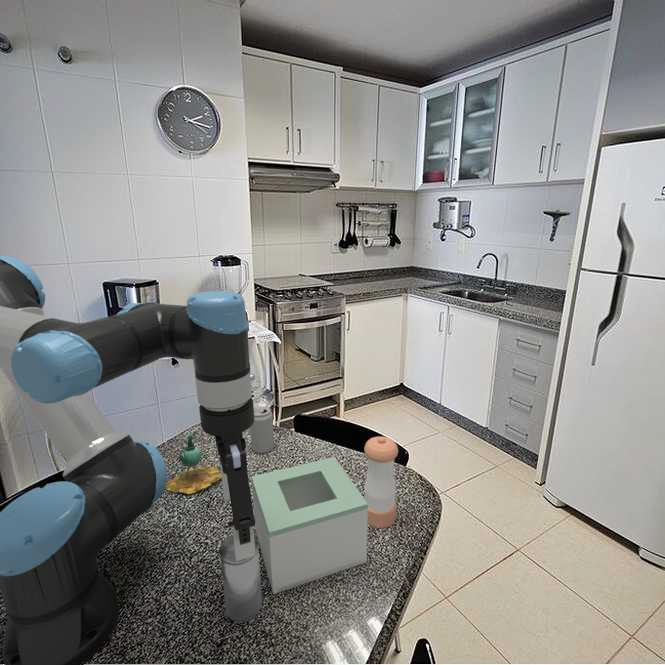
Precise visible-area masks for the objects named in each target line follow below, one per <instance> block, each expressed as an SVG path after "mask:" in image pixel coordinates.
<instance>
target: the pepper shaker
mask: <svg viewBox="0 0 665 665" xmlns="http://www.w3.org/2000/svg"><path fill="white" fill-rule="evenodd" d="M363 449H364V450H363V451H364V454H365V455H366V457H367V473H366V477H365V478H366V479H365V483H364V497H363V498H364V499H365V501H366V502H367V504H368V520H367V525H369V526H371V527H374V528H377V529H384V528H385V529H386V528H388V527H391V526H393V524H394V523H395V522H396V520H397V508H398V503H397V500H396V494H397V493H396V491H397V489H396V488H397V486H396V481H395V475H394V474H395V473H394V472H395V459H396V458H397V457H398V454H399V448H398V444H397V443H396V442H395V441H394V440H393V439H391V438H390V437H386V436H374V437H371V438H369V439H368V440H367V441H366V443H365V444H364V448H363Z"/></svg>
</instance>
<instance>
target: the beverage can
mask: <svg viewBox="0 0 665 665" xmlns="http://www.w3.org/2000/svg"><path fill="white" fill-rule="evenodd" d="M254 418H255V419H254V423H253V425H252V426H251V427H250V428H249V431H250V432H249V433H250V443H251V444H250V445H251V450H252V451H253V452H255V453H257V454H267V453H269V452H271V451H272V450H273V449H274V448H275V434H274V431H275V430H274V418H273V412H272V409H271V408H270V407H268V406H264V405H260V406H256V407H254Z"/></svg>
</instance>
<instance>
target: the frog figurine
mask: <svg viewBox="0 0 665 665" xmlns="http://www.w3.org/2000/svg"><path fill="white" fill-rule="evenodd" d="M183 442H184V445H183V448H182V451H181V452H180V454H179V456H178V463H181V464H182V465H183V468H181V467H179V466H176V464H175V463H173V464H172V465H171V467H172V468H178V469H179V470H182V471H181V472H178V471H177V472H176V476H175V477H174V478H173V479H172V478H171V479H170V480H169V481H167V486H166V489H165V490H167V491H168V492H171V493H172V494H176V493H180V494H181V493H182V494H186V495H191V494H195V493H197V492H198V491H202V490H204V489H206V488H209V487H210V486H211V484H212V483H217V482H218V481H219V480H222V476H221V467H220V465H222V464H221V462H219V465H215V466H213V465H209V466H200V467H196V466H197V465H199V463H200V462H201V460H202V452H203V453H204V457H203V459H204V460H207V459H208V457H207V455H206V451H205V450H204V449H200V448H199V447H198V446H196V445H195V444H194V442H193V434H192V433H189V434H188V436H187V441H186V440H183ZM186 467H188V468H187V469H185V468H186ZM191 467H192V468H191Z"/></svg>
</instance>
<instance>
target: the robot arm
mask: <svg viewBox="0 0 665 665" xmlns="http://www.w3.org/2000/svg"><path fill="white" fill-rule="evenodd" d="M43 289H44V287H43V282H42V281H41V280H40V278H39V276H38V275H37V273H36V272H35V271H34V270H33V269H32V268H31V267H30V265H28V264H27V263H25V262H23V261H22V260H20V259H18V258H17V257H13V256H9V255H0V370H1V371H2V372H3V374H4V375H5V377H6V378H7V380H8V382H9V383H10V384H11V385H12V387H13V389H14V391H16V393H17V394H18V395H19V397H20V399H21V400H22V401H23V403H24V404H25V405H26V407H27V408H28V409H29V411H30V413H31V414H32V416H33V418H35V419H36V421H37V422H38V424H39V425H40V427H41V428H42V429H43V431H44V433H45V434H46V435H47V437H48V438H49V439H50V441H51V442H52V444H53V445H54V447H55V448H56V449H57V452H59V453H60V456H61V457H62V458H63V460H64V461H65V467H64V470H63V473H62V477H63V478H64V480H65V481H55V482H51V483H49V482H48V483H46V485H44V486H43V487H40V486H38V487H35V488H32V489H31V490H29V491H27V492H25V493H23V494H22V495H20V496H19V497H17V498H15V499H14V500H13V501H11V502H10V503H9V504H7V505H6V506H5V508H3V509H2V510H1V511H0V594H1V597H2V600H3V601H2V602H3V604H4V605H3V606H4V607H5V610H6V614H7V621H6V626H5V630H4V631H5V632H4V636H3V643H2V648H1V649H2V650H1V653H2V654H1V655H2V660H3V664H4V665H82V664H84V663H86V662H87V661H88V660H89V659H90V658H91V657H93V656H94V655H95V654H96V653H97V652H98V651H99V649H101V648H102V647H103V646H104V644H105V643H106V641H107V640H108V639H109V638H110V636H111V635H112V633H113V631H114V629H115V627H116V625H117V623H118V620H119V616H120V602H119V597H118V594H117V591H116V589H115V587H114V586H113V585H112V583H110V581H109V580H108V579H107V577H106V576H104V574H103V573H102V572H101V570H100V569H99V565H98V559H97V554H98V553H99V552H100V551H101V550H102V549H104V548H105V547H107V545H109V543H111V542H112V541H113V540H114V539H115V538H117V537H118V536H119V535H120V534H121V533H122V532H124V531H125V529H127V528H128V527H129V526H130V525H131V524H133V522H135V521H136V520H137V519H138V518H140V516H142V515H143V514H145V513H146V512H148V511H149V510H151V508H152V507H153V505H154V504H155V503H156V502H157V501H158V500H159V499H160V498H161V497H162V496H163V495H164V493H165V491H166V490H167V489H166V486H167V482H168V481H167V480H168V479H169V478H168V477H169V475H168V474H169V473H168V468H167V464H166V462H165V458H164V457H163V455H162V454H161V452H160V451H159V450H158V448H156V447H155V446H154V444H150V443H149V442H147V441H145V440H137V441H134V440H133V437H131V435H130V434H129V433H126V432H119V431H116V430H115V428H114V427H113V426H112V424H111V423H110V422H109V420H108V419H107V417H106V416H105V415H104V413H103V411H102V410H101V409H100V408H99V405H98V404H97V403H96V401H95V400H94V398H93V397H92V396H91V394H90V393H89V392H90V391H91V390H93V389H95V388H98V387H100V386H102V385H104V384H106V383H108V382H110V381H113V380H115V379H118V378H119V377H122V376H124V375H126V374H128V373H130V372H131V373H132V372H133V371H135V370H138V369H140V368H142V367H145V366H147V365H149V364H152V363H154V362H157V361H158V360H161V359H164V358H173V359H181V360H182V359H183V360H192V362H193V368H194V369H193V370H194V373H195V374H194V377H195V378H194V379H195V387H196V397H197V402H198V404H199V406H198V407H199V408H198V409H199V410H198V411H199V418H200V419H199V420H200V427H201V429H202V431H203V432H204V433H205V434H207V435H208V436H209V435H210V436H212V437H214V439H215V440H214V441H215V445H216V448H217V455H218V456H219V463H221V464H222V465H220V464H219V465H220V467H221V470H220V471H221V476H222V479H221V482H222V486H221V487H222V495H223V500H224V501H229V500H230V506H231V507H230V508H231V512H232V513H231V514H232V518H231V521H228V522H227V528H231V527H232V535H233V537H234V547H235V557H236V561H239V560H242V559H246V558H249V557H252V556H255V543H254V536H255V534H254V532H255V531H254V527H255V518H254V506H253V499H252V495H251V494H252V493H251V487H250V480H249V472H248V461H247V460H248V459H247V456H248V455H247V451H246V449H247V444H246V439H245V437H244V435H243V433H244V432H246V431H247V430H250V427H251V426H252V425H253V423H254V419H255V418H254V408H255V407H254V400H253V387H252V382H254V381H255V380H256V376H255V374H254V373H251V363H250V348H249V321H248V317H247V313H246V311H247V310H246V304H245V299H244V297H243V296H242V294H240V293H238V292H236V291H231V290H219V291H218V290H209V291H201V292H197V293H193V294H191V295H190V296H189V297H188V298H187V300H186V304H187V305H183V304H182V305H180V304H168V303H167V304H166V303H158V302H154V301H147V302H142V303H141V302H133V303H129V304H127V305H125V306H124V307H123V308H121V310H120V311H119V312H117V313H116V314H114V315H110V316H105V317H101V318H98V319H97V318H96V319H94V320H91V321H86V322H74V321H68V320H64V319H58V318H55V317H51V316H50V317H49V316H46V315H45V311H44V310H43V309H44V306H45V302H46V293H45V292H44V291H43Z"/></svg>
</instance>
